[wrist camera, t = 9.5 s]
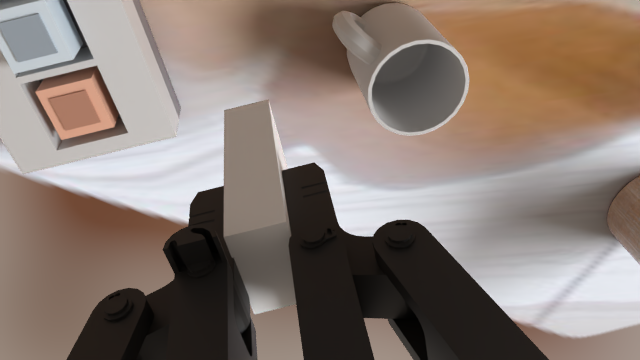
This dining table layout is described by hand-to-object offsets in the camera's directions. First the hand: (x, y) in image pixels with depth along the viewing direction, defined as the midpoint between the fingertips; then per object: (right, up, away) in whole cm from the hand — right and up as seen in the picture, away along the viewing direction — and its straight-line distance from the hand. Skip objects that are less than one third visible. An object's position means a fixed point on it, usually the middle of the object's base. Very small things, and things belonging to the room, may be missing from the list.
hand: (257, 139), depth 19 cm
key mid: (-17, +9, +19) cm, 27 cm away
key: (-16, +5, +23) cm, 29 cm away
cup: (+7, +11, +27) cm, 29 cm away
